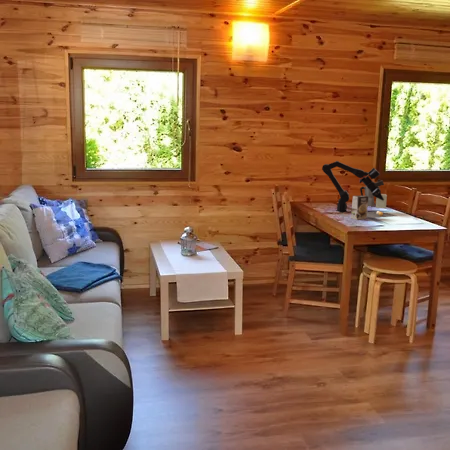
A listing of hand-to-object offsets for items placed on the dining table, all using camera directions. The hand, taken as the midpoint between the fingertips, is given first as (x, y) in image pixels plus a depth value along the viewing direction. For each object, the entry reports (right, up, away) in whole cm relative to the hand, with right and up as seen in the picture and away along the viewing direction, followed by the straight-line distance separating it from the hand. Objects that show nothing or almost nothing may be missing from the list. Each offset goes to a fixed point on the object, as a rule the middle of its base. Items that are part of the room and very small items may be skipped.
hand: (383, 199), depth 384 cm
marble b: (-5, -11, -9) cm, 15 cm away
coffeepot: (-1, -3, +39) cm, 39 cm away
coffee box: (-23, -15, -19) cm, 33 cm away
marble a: (-5, -10, -5) cm, 13 cm away
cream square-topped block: (-2, -6, +2) cm, 6 cm away
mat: (-6, -12, -3) cm, 14 cm away
